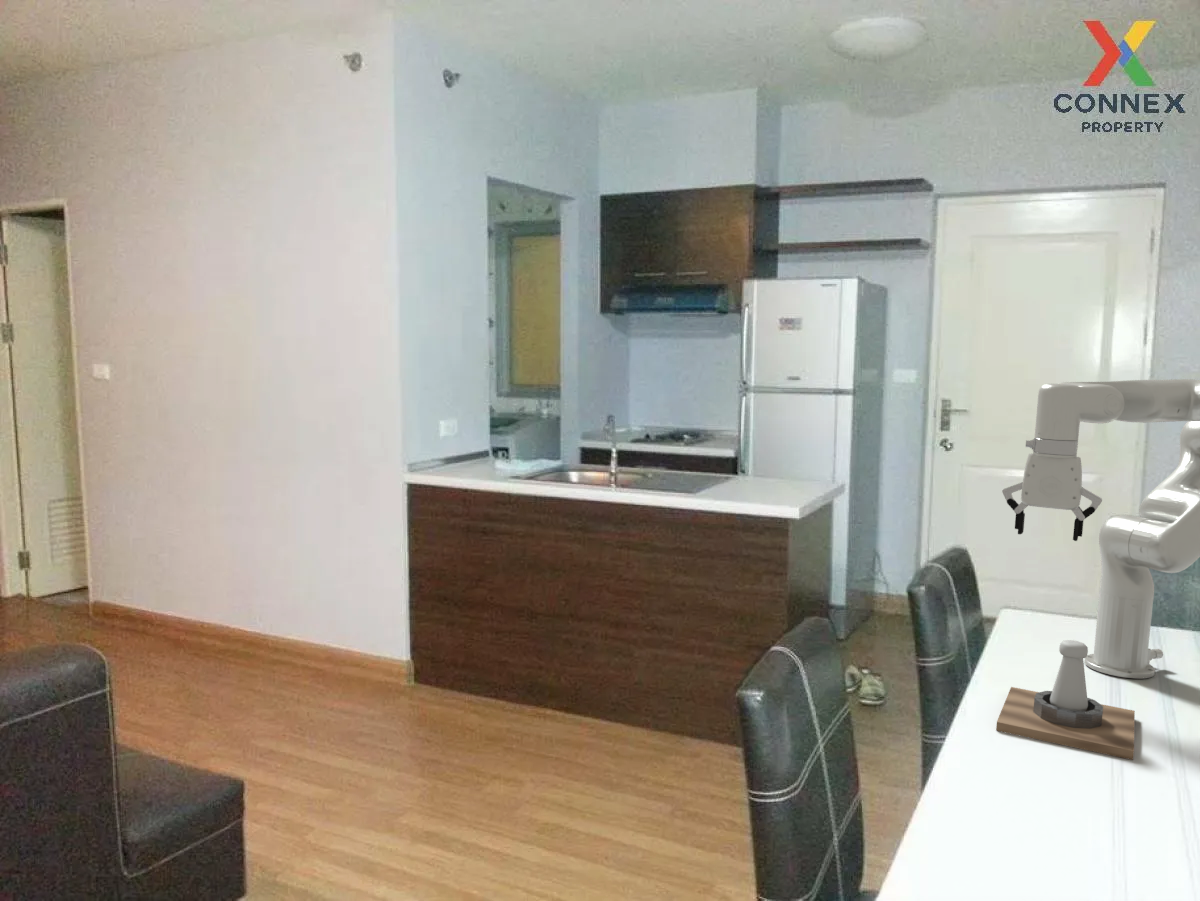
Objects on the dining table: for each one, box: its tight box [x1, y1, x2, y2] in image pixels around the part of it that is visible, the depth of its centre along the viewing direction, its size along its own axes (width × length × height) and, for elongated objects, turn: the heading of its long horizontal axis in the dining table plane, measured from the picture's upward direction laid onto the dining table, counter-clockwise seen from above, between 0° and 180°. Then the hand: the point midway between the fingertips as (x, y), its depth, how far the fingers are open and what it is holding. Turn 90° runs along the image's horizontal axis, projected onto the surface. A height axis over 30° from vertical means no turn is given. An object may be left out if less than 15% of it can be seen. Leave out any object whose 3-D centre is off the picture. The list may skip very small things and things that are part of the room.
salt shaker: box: [1050, 639, 1089, 711], centre depth 159 cm, size 6×6×13 cm
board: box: [995, 686, 1136, 761], centre depth 160 cm, size 20×20×2 cm
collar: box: [1033, 690, 1103, 729], centre depth 160 cm, size 10×10×2 cm
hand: (1047, 536), depth 180 cm, fingers open, 9 cm apart
